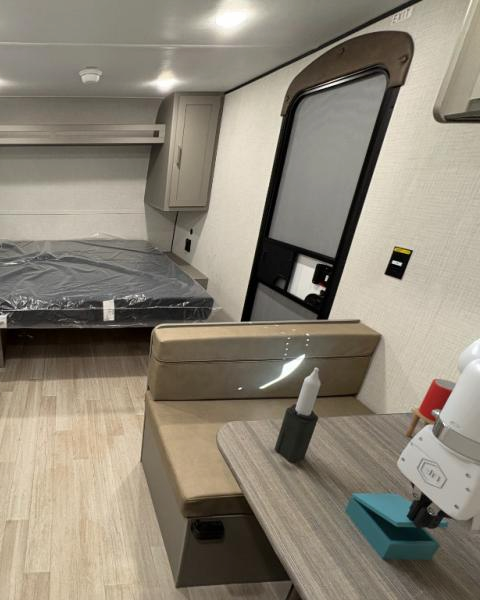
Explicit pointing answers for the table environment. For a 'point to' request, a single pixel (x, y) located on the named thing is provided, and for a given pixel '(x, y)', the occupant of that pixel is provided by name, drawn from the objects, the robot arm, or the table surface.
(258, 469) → the table surface
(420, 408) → the can
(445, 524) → the lid
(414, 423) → the stool
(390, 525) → the teal hinged box
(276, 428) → the table surface
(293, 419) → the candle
